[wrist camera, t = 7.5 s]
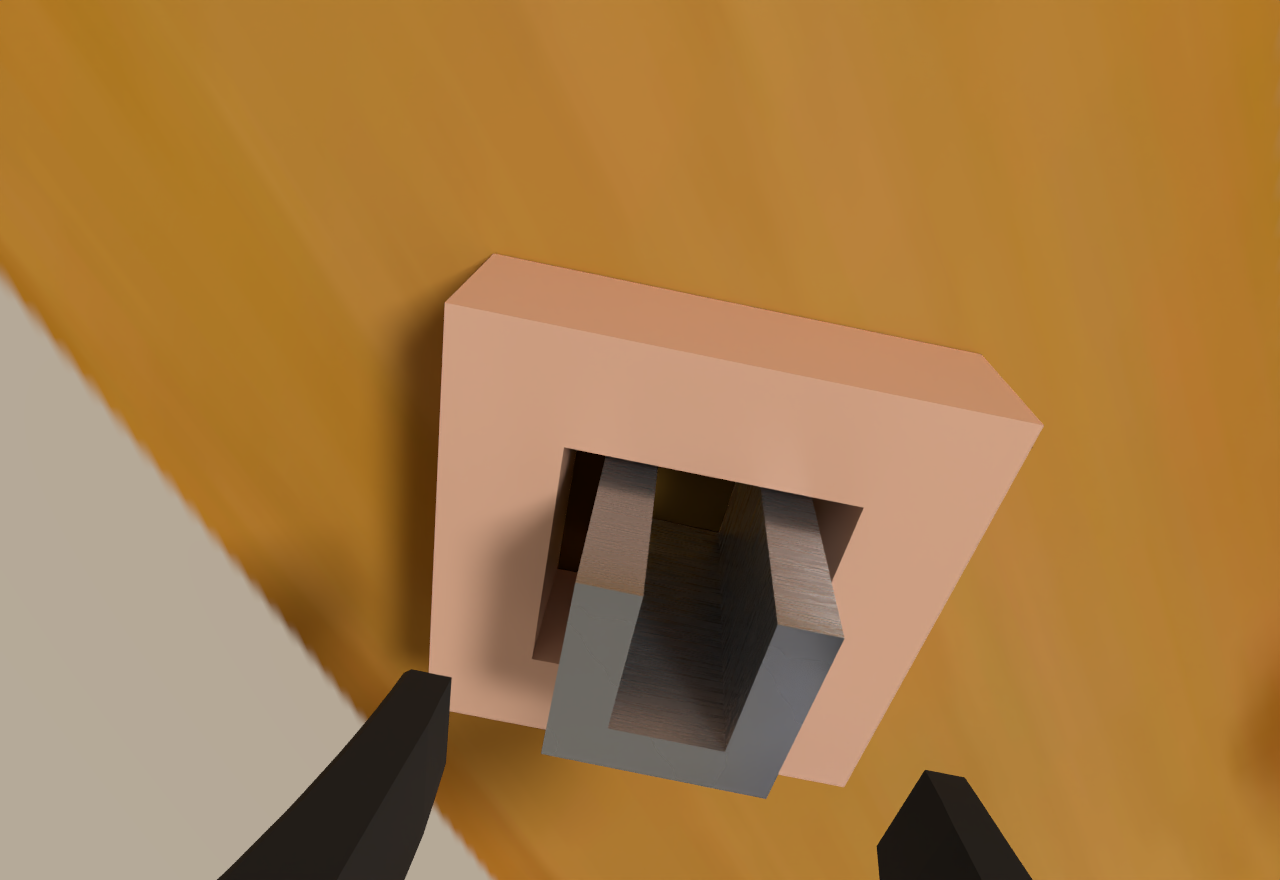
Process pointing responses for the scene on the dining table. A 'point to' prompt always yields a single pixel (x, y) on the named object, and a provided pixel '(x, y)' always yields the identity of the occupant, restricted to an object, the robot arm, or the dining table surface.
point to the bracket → (694, 637)
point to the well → (703, 471)
